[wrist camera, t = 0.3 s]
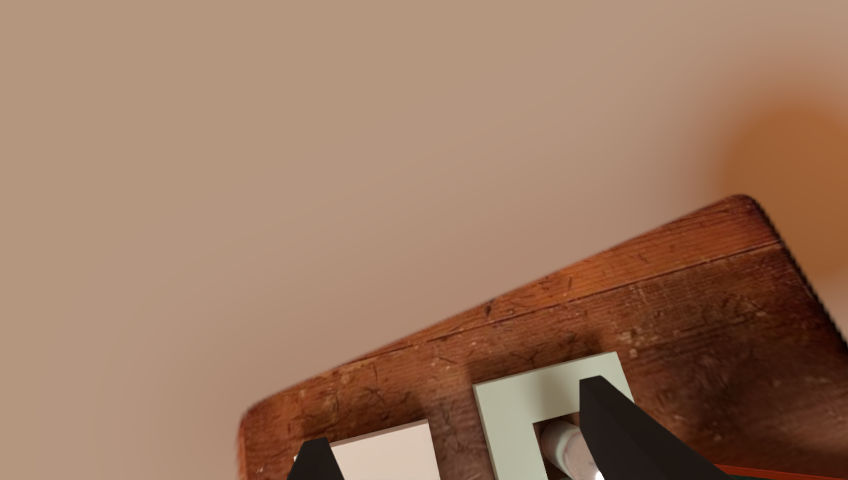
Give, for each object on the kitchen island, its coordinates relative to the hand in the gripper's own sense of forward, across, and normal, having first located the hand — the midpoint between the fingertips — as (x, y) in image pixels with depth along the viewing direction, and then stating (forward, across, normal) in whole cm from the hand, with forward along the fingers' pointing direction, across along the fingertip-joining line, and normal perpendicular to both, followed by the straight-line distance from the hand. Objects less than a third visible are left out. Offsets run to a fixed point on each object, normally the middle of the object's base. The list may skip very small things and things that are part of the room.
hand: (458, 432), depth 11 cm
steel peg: (+16, -10, +26) cm, 32 cm away
